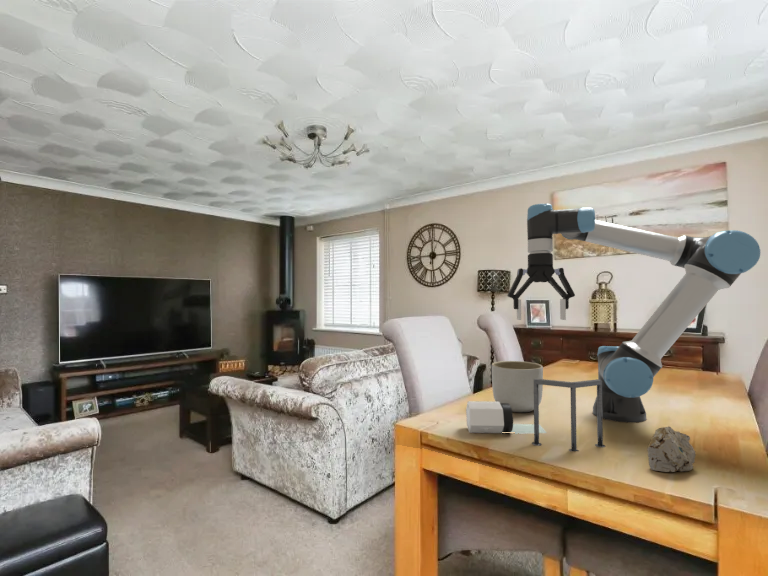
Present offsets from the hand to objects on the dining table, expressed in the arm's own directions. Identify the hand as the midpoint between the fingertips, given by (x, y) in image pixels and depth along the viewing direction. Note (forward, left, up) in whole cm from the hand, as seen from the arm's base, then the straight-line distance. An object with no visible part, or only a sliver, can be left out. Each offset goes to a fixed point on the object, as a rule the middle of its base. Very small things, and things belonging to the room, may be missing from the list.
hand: (540, 319), depth 129 cm
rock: (-18, +38, -32) cm, 53 cm away
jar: (+25, +13, -28) cm, 39 cm away
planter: (+5, -12, -32) cm, 34 cm away
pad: (+9, +13, -32) cm, 35 cm away
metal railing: (0, +23, -32) cm, 39 cm away
